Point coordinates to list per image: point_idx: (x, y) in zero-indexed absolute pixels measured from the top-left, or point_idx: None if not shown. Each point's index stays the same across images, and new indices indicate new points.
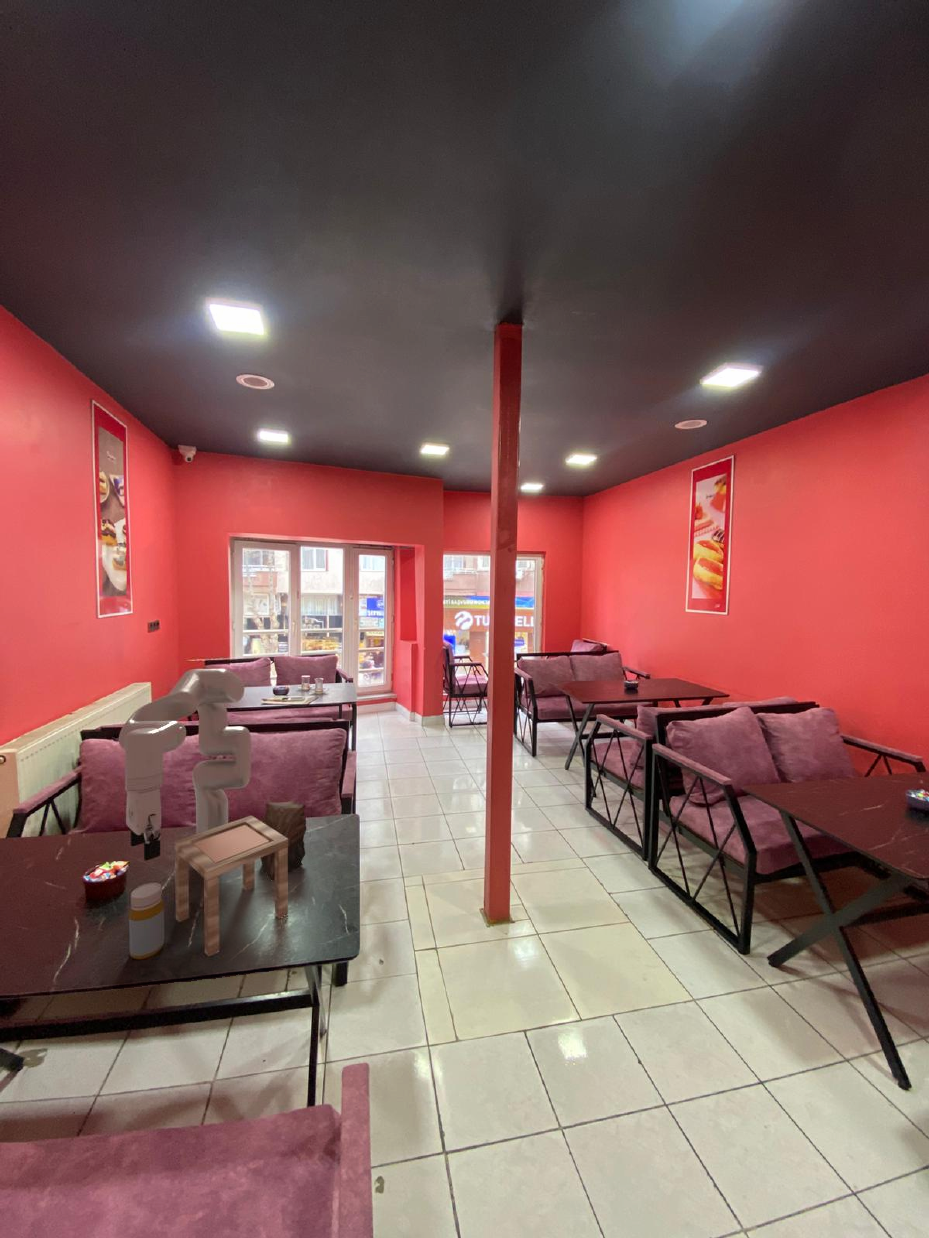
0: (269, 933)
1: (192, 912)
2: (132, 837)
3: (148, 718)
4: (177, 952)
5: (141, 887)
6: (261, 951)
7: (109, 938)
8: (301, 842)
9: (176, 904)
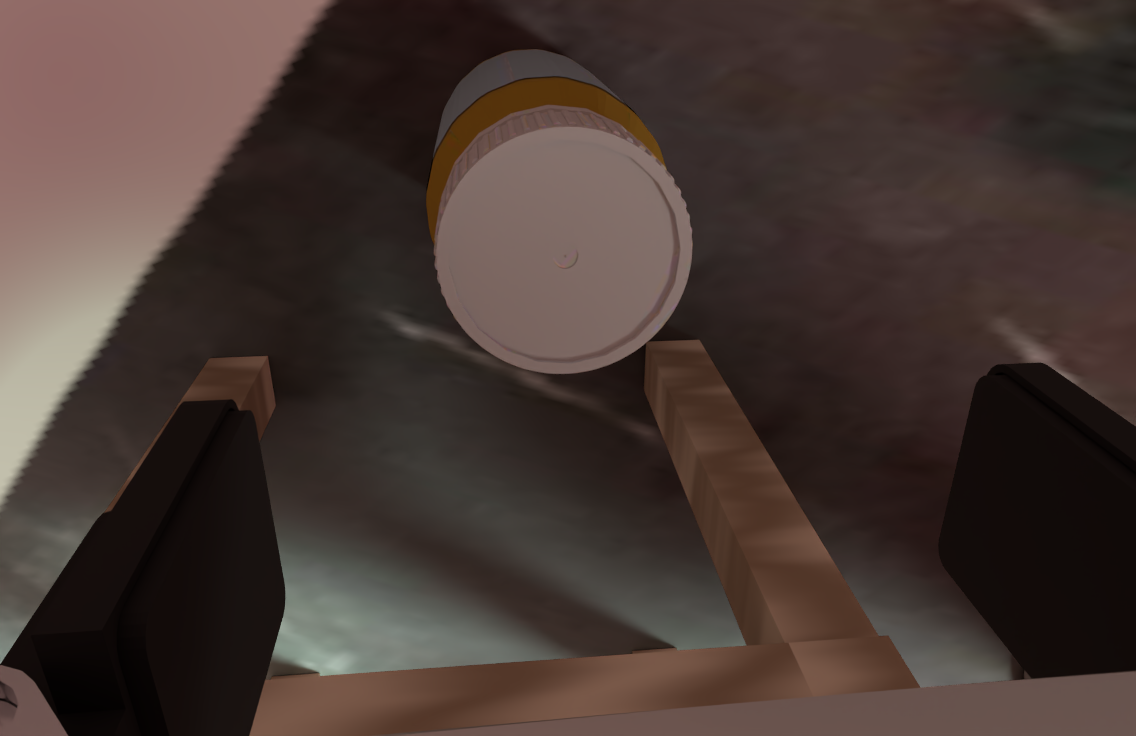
0: None
1: None
2: (1093, 467)
3: None
4: (376, 255)
5: (666, 239)
6: (75, 544)
7: (831, 7)
8: None
9: (708, 380)
